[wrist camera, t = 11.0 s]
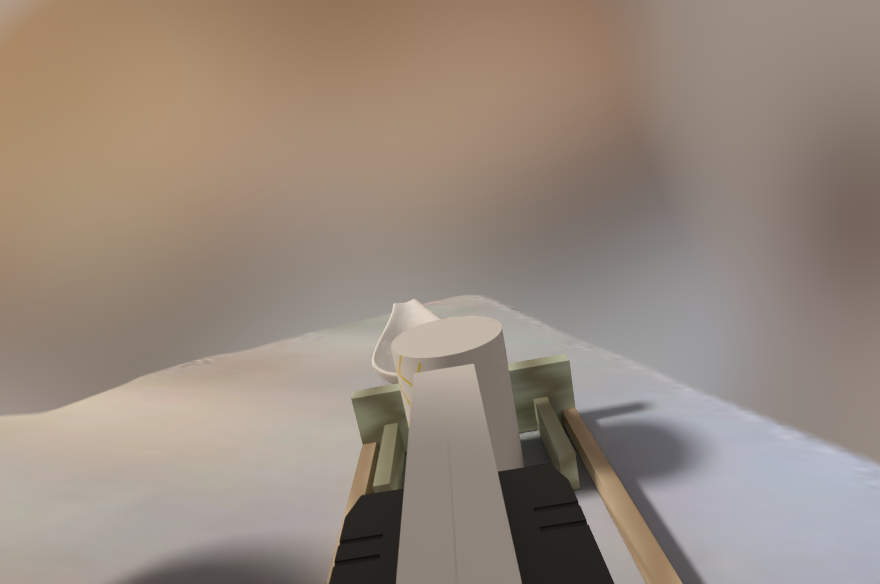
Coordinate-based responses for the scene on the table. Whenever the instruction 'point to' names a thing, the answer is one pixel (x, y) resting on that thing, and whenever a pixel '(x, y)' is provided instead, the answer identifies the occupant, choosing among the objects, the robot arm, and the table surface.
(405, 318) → the spoon rest
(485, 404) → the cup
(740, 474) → the table surface
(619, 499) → the wooden tray frame
